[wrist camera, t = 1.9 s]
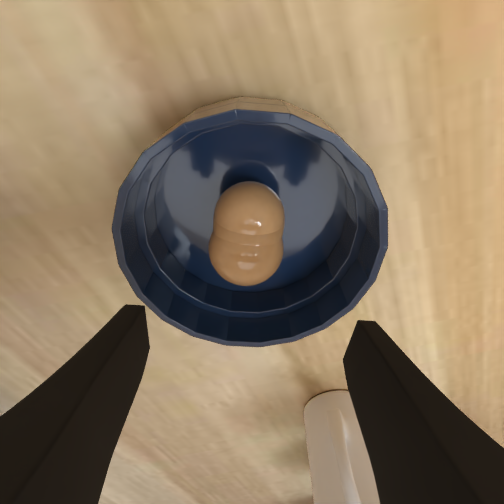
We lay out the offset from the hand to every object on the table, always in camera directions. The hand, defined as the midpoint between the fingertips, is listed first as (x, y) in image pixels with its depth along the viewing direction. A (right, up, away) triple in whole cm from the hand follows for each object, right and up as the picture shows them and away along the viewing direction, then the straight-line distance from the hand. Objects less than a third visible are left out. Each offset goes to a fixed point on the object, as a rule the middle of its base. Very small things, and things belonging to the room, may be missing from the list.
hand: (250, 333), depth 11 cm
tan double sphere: (0, +5, +7) cm, 9 cm away
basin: (0, +5, +8) cm, 9 cm away
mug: (+8, -11, +18) cm, 23 cm away
